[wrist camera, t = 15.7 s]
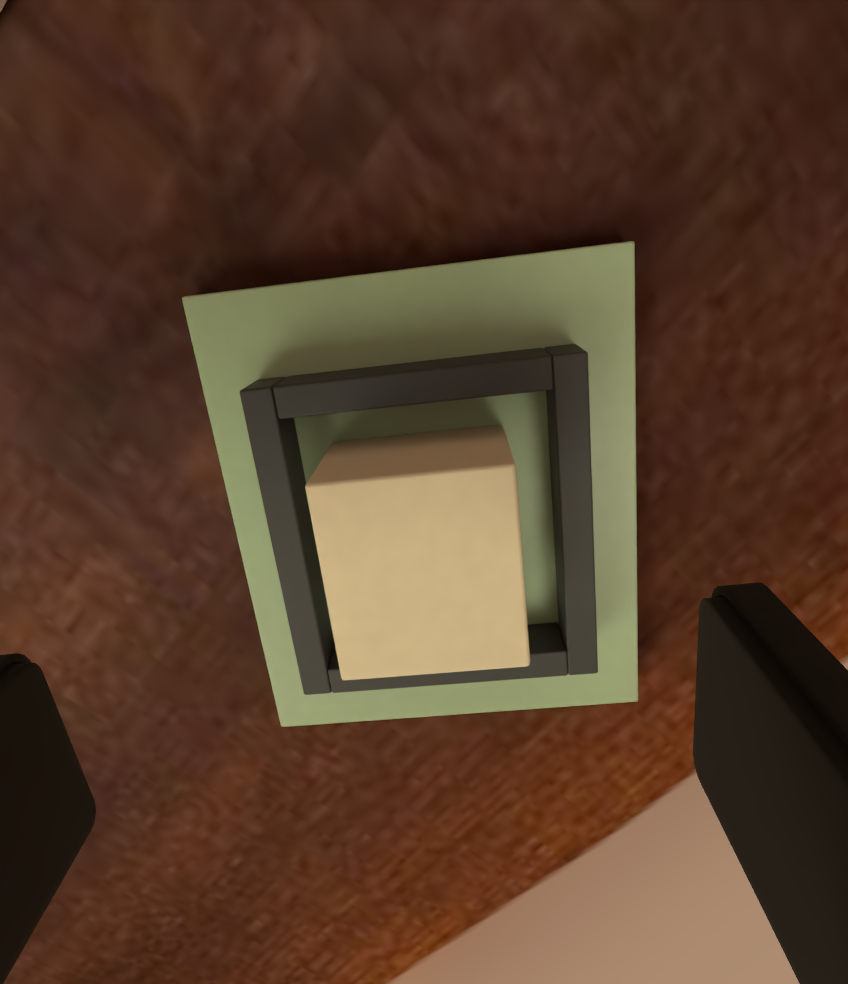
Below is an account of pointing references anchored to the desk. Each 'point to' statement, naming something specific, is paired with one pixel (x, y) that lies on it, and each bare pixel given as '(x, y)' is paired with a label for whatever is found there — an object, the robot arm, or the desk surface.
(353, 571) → the cream block
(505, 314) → the backing plate
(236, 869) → the desk surface
